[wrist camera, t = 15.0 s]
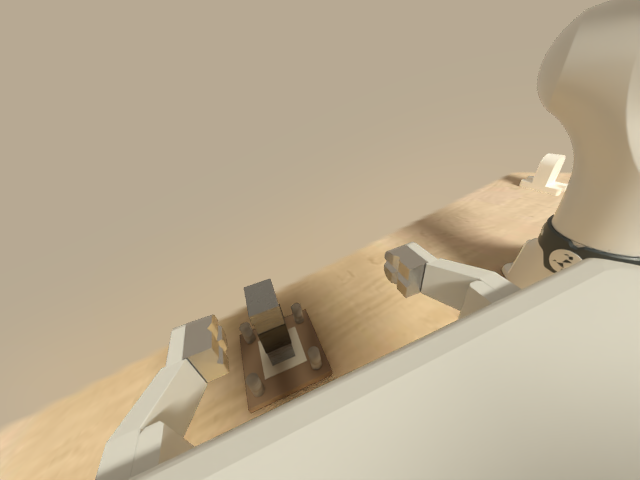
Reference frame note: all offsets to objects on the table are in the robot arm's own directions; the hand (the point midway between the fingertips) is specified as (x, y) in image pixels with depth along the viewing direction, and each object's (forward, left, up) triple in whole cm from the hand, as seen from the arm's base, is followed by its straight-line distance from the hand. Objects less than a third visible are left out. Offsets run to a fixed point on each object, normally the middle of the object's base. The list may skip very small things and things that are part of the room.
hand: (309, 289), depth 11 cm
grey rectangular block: (+3, -15, -27) cm, 31 cm away
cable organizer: (-82, -32, -28) cm, 93 cm away
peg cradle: (+3, -15, -28) cm, 32 cm away
